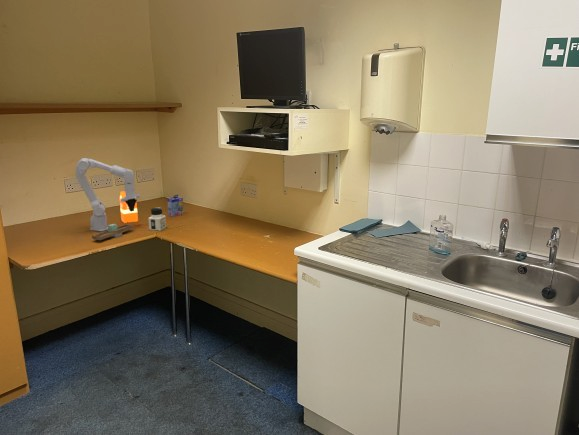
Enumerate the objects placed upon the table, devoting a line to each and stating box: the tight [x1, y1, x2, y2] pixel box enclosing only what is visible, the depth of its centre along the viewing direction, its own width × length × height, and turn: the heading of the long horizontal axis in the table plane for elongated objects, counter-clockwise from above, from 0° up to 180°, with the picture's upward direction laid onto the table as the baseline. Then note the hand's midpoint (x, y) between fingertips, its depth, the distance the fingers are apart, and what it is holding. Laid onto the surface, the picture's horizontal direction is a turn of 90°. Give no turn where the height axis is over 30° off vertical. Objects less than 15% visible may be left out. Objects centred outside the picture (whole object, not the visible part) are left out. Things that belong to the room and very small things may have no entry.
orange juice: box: [119, 190, 139, 224], centre depth 292 cm, size 8×9×20 cm
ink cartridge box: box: [166, 194, 184, 218], centre depth 307 cm, size 10×6×14 cm, turn 145°
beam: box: [91, 223, 135, 241], centre depth 261 cm, size 8×26×4 cm, turn 156°
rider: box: [107, 223, 118, 232], centre depth 260 cm, size 3×4×4 cm
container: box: [148, 207, 167, 231], centre depth 275 cm, size 8×8×13 cm
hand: (131, 211), depth 277 cm, fingers closed
